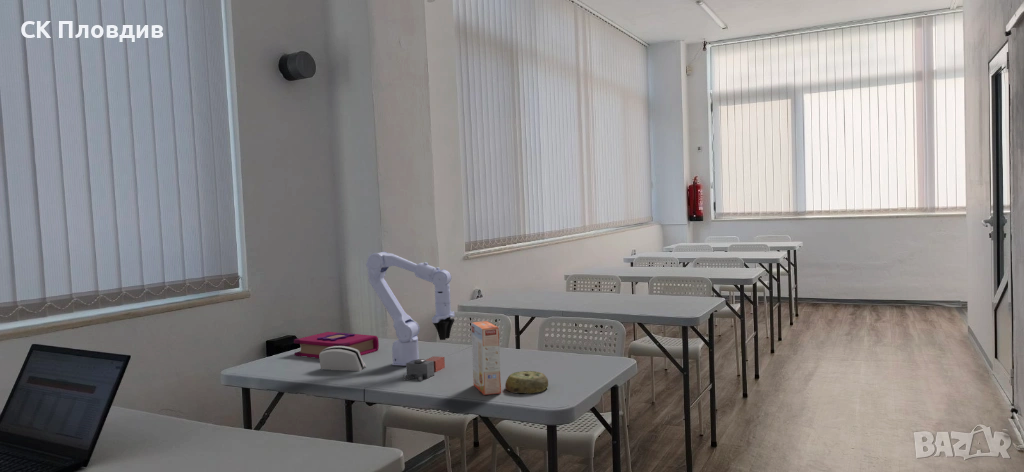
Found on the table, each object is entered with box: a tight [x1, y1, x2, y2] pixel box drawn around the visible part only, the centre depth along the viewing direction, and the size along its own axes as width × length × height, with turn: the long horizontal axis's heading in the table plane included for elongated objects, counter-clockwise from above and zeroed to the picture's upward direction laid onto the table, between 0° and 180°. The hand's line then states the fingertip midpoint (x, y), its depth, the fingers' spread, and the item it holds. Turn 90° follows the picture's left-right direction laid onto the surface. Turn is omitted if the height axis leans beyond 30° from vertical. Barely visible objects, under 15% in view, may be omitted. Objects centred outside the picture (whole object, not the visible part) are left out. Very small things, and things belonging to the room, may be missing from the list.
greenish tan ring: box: [505, 370, 549, 395], centre depth 221 cm, size 14×13×5 cm
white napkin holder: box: [318, 346, 367, 372], centre depth 259 cm, size 17×5×10 cm, turn 74°
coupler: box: [403, 358, 435, 382], centre depth 246 cm, size 19×8×6 cm, turn 158°
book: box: [293, 331, 380, 359], centre depth 289 cm, size 21×28×8 cm
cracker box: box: [470, 320, 502, 396], centre depth 222 cm, size 14×6×21 cm, turn 17°
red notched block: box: [425, 355, 446, 373], centre depth 253 cm, size 5×7×4 cm, turn 158°
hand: (444, 339), depth 260 cm, fingers open, 2 cm apart
